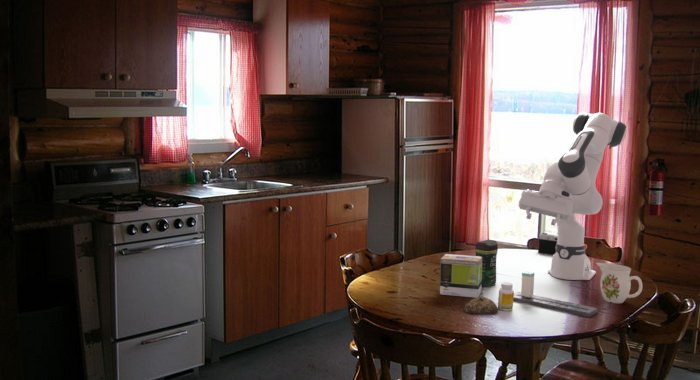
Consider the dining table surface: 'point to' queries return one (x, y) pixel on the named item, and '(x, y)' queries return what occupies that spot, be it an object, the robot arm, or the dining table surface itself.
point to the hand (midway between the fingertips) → (540, 221)
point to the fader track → (556, 305)
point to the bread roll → (481, 306)
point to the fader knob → (527, 284)
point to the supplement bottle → (506, 296)
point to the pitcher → (617, 282)
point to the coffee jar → (487, 260)
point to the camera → (547, 243)
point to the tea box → (461, 275)
